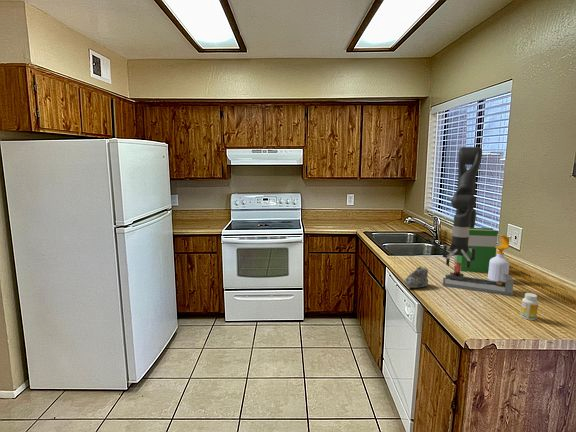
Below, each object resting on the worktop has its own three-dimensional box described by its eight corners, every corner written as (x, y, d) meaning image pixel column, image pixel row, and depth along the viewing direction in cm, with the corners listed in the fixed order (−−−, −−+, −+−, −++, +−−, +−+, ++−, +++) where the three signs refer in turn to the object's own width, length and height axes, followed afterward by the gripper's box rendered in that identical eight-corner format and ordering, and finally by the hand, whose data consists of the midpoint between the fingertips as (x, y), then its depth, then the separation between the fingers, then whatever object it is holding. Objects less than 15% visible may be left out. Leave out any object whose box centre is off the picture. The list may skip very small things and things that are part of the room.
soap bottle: (483, 278, 186) (488, 233, 182) (496, 276, 189) (500, 232, 185) (499, 283, 177) (504, 236, 174) (511, 281, 181) (517, 235, 177)
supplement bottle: (518, 317, 139) (521, 294, 138) (521, 313, 143) (524, 291, 142) (535, 321, 136) (538, 298, 134) (537, 317, 140) (540, 294, 138)
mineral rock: (406, 289, 168) (407, 270, 167) (399, 282, 179) (400, 263, 177) (432, 290, 168) (434, 270, 166) (424, 282, 179) (426, 263, 177)
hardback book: (488, 268, 202) (492, 228, 199) (493, 272, 195) (498, 230, 191) (456, 267, 205) (459, 227, 201) (460, 271, 197) (464, 229, 194)
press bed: (443, 280, 182) (444, 266, 181) (510, 289, 169) (511, 274, 168) (442, 285, 174) (443, 271, 173) (513, 296, 161) (514, 280, 160)
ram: (449, 278, 179) (451, 261, 177) (462, 280, 176) (464, 262, 175) (449, 282, 174) (451, 263, 172) (462, 284, 171) (464, 265, 170)
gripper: (476, 235, 172) (473, 266, 174) (444, 232, 178) (442, 263, 180) (477, 238, 165) (474, 270, 167) (444, 235, 171) (441, 266, 173)
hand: (457, 266), depth 174 cm, fingers open, 8 cm apart
